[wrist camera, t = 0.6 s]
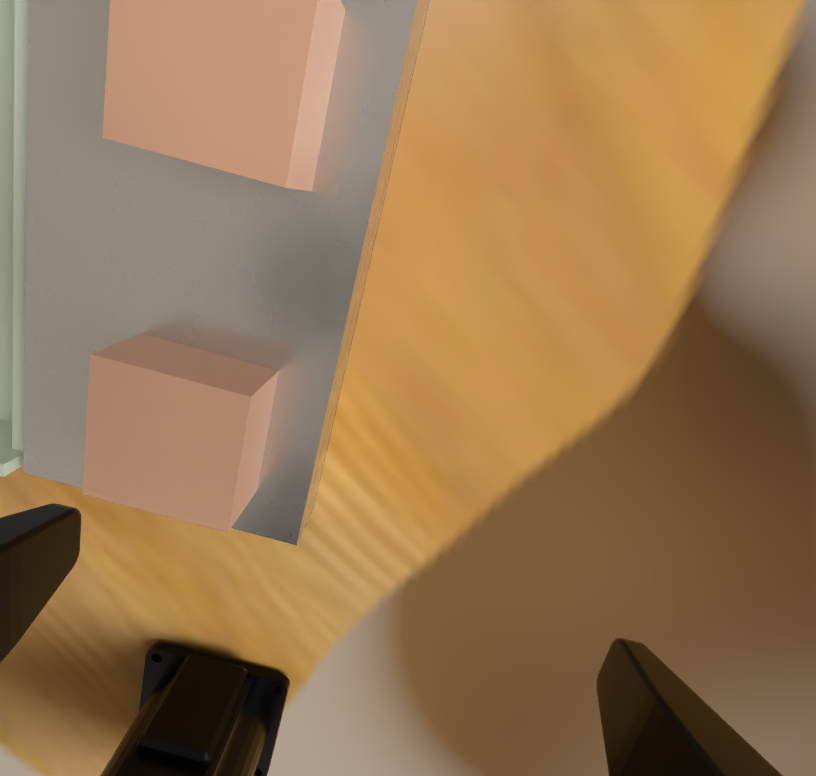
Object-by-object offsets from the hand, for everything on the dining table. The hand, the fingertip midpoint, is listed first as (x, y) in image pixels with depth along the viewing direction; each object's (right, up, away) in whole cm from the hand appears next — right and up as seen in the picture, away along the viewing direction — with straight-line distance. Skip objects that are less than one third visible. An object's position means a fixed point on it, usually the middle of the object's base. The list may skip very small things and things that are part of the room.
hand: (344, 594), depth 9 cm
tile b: (-3, +12, +5) cm, 13 cm away
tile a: (-6, +3, +9) cm, 11 cm away
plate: (-5, +8, +9) cm, 14 cm away
